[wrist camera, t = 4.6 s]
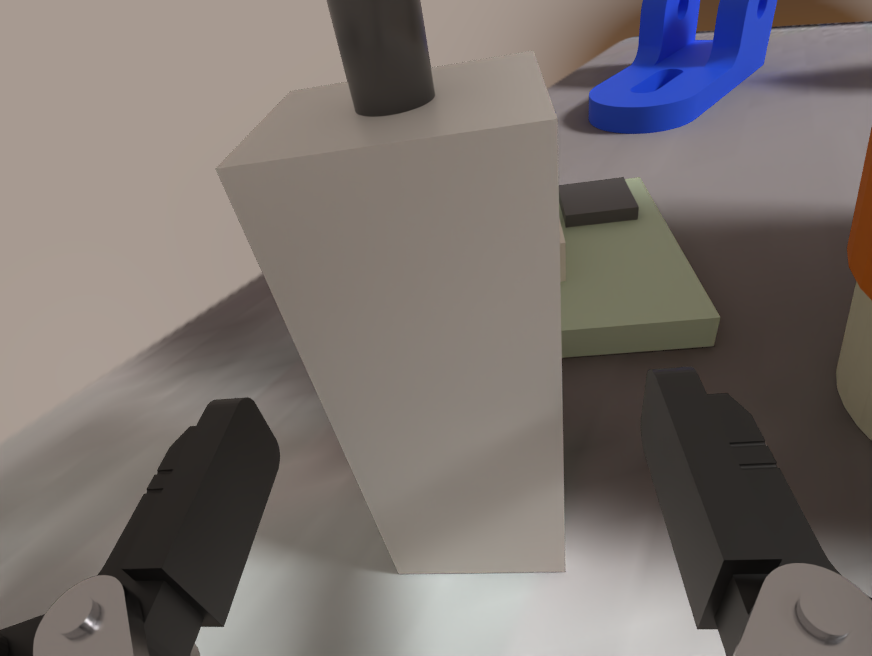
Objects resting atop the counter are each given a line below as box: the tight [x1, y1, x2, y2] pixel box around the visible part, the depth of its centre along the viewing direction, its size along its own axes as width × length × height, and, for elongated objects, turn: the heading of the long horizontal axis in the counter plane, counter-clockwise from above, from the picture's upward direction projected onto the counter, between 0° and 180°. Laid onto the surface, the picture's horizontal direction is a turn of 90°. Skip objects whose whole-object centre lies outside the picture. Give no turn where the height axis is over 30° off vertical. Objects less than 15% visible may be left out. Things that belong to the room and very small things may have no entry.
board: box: [559, 177, 720, 358], centre depth 26 cm, size 15×13×4 cm
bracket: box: [589, 0, 777, 134], centre depth 41 cm, size 18×8×9 cm, turn 137°
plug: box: [216, 0, 565, 574], centre depth 12 cm, size 5×5×16 cm
